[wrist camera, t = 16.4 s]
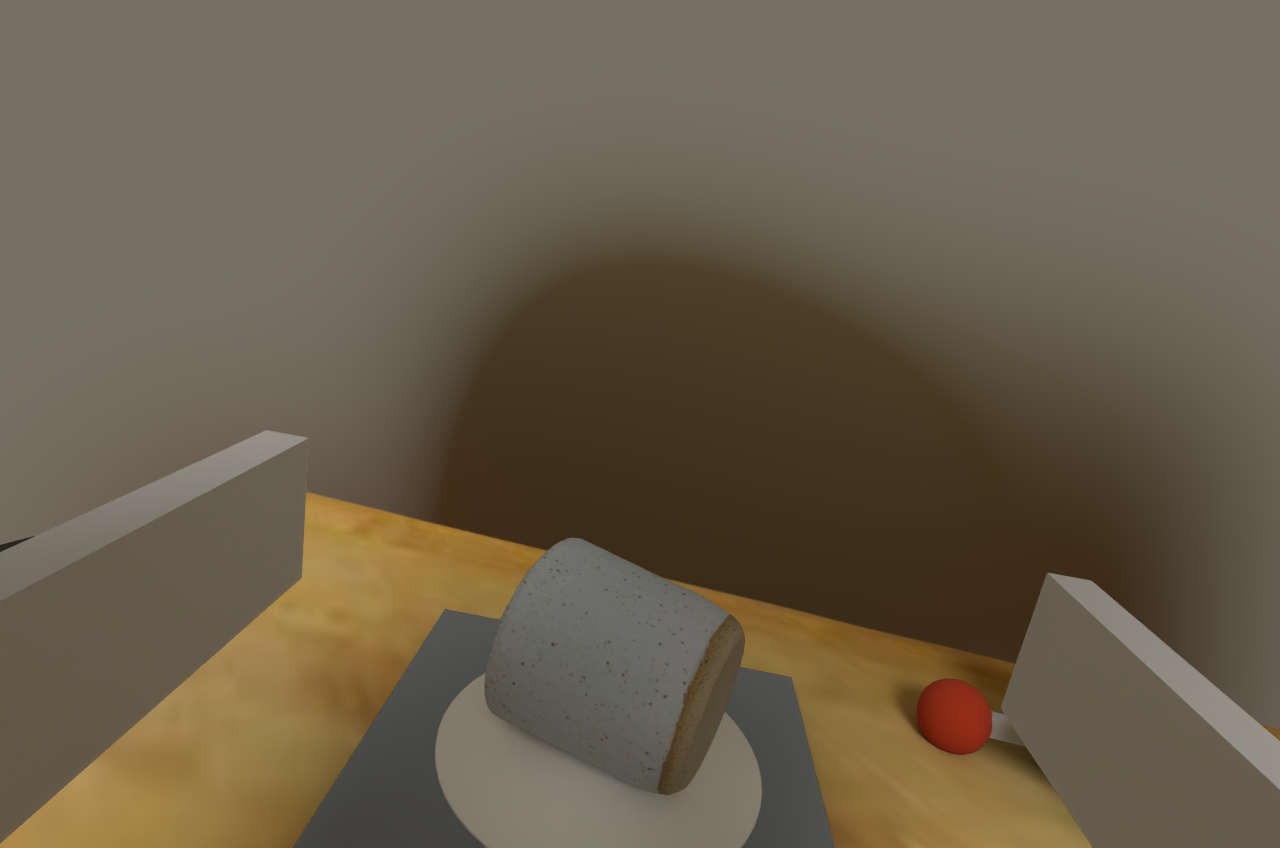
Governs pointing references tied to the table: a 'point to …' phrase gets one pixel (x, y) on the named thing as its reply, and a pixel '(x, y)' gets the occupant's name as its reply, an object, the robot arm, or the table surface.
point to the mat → (558, 772)
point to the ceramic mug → (614, 665)
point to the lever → (961, 718)
